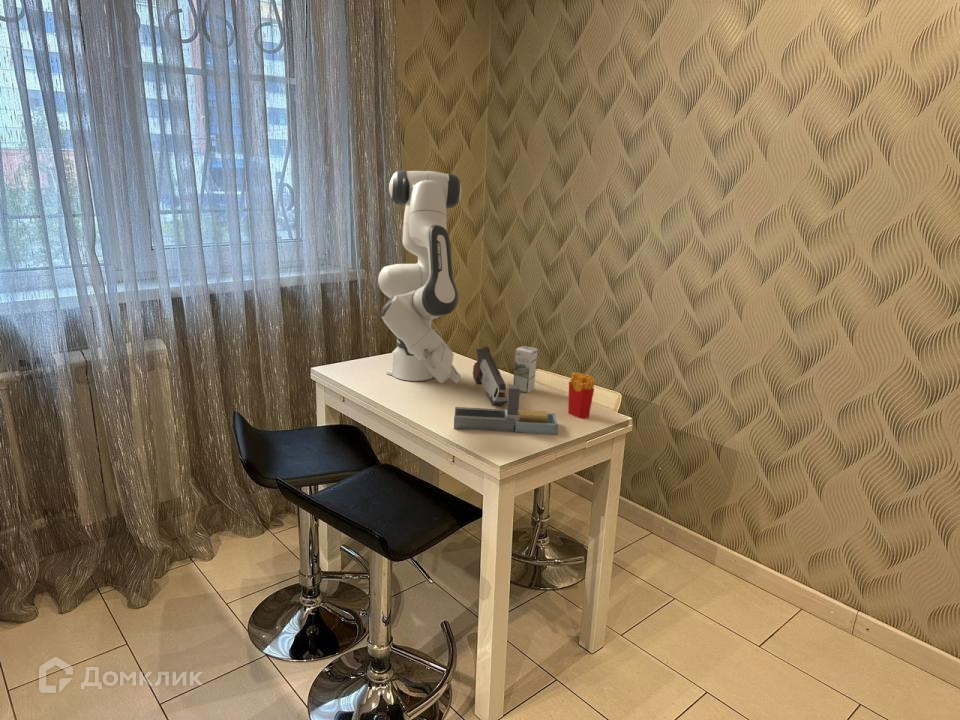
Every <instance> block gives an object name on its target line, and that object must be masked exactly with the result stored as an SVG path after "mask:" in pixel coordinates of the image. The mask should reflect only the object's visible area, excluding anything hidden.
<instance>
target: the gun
mask: <svg viewBox="0 0 960 720" xmlns="http://www.w3.org/2000/svg"><path fill="white" fill-rule="evenodd" d="M476 353H477V361H476V362H475V363H474V364H473V368H472V378H473V380H474V382H475V384H476V385H482V387H483V389H484V392H485V393H486V394H487V398H488V399H489V403H490V404H491V405H504V404H507V403H508V392H507V386H506V383H505V381H504V379H503V376H502V374H501V372H500V370H499V368H498V365H497V363H496V362H495V360H494V358H493V356H492V354H491V350H490V348H489V346H483V348H476Z"/></svg>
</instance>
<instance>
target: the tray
mask: <svg viewBox="0 0 960 720" xmlns="http://www.w3.org/2000/svg"><path fill="white" fill-rule="evenodd" d="M547 416H548V417H547V423H532V422H516V425H514V432H515V433H517V434H518V433H519V434H536V435H539V434H540V435H553V436H554V435H555V436H557V435H558V432H559V431H558V430H559V424H558V420H557V416H556V413H552V412H551V413H550V412H547Z"/></svg>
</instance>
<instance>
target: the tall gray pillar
mask: <svg viewBox="0 0 960 720" xmlns="http://www.w3.org/2000/svg"><path fill="white" fill-rule="evenodd" d="M520 393H521V391H520V387H519V385H513V384H511V383H510V384H508V391H507V403H506V409H504V410H505V418H512V419H514V425H516V422H519V417H520V415H519V404H520V403H519V402H520V395H521V394H520Z"/></svg>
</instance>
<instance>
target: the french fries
mask: <svg viewBox="0 0 960 720" xmlns="http://www.w3.org/2000/svg"><path fill="white" fill-rule="evenodd" d="M596 381H597V380H596V378H594V377H593V376H592V375H590V374H588V373H587V374H585V373H581V372H578V371H577V372H574V371H573V372H572V373H571V377H570V381H568V403H567V404H568V407H567V409H568V411H567V412H568V414H569V415H571V416H573V417H576V418H578V419H583V420H584V419H588V418H589V417H590V412H591V407H592V402H593V396H594V391H595V388H594V386H595V383H596Z"/></svg>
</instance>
